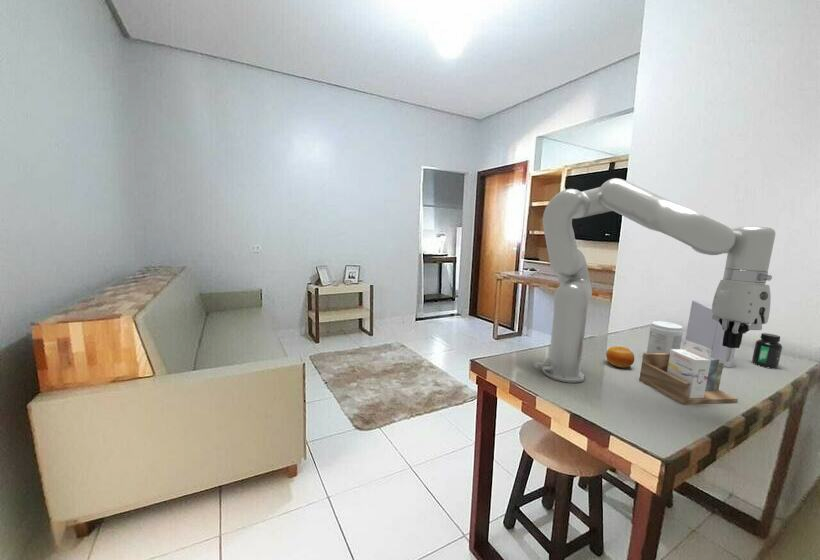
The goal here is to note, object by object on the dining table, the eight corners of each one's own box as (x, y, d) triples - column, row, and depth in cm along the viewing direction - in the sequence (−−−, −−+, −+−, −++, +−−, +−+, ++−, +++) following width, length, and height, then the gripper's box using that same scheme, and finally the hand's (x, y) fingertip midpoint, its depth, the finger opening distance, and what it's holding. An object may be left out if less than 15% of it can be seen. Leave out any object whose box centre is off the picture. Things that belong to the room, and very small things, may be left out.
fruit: (611, 349, 125) (617, 336, 119) (634, 363, 119) (642, 351, 114) (598, 361, 122) (604, 349, 116) (622, 377, 116) (629, 365, 111)
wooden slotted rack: (682, 404, 92) (688, 366, 90) (639, 379, 107) (644, 347, 105) (737, 402, 94) (745, 366, 92) (688, 379, 109) (693, 347, 107)
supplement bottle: (763, 368, 121) (770, 337, 119) (746, 361, 128) (752, 331, 126) (783, 369, 121) (790, 338, 119) (765, 362, 127) (771, 332, 126)
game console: (711, 365, 122) (721, 313, 119) (683, 343, 147) (691, 300, 144) (731, 368, 120) (742, 315, 117) (700, 345, 145) (708, 301, 142)
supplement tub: (669, 358, 127) (675, 322, 125) (682, 368, 118) (689, 329, 116) (641, 355, 129) (646, 319, 127) (651, 364, 120) (658, 326, 118)
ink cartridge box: (663, 384, 101) (671, 339, 99) (678, 384, 102) (686, 339, 99) (689, 398, 93) (698, 349, 90) (704, 398, 93) (714, 349, 91)
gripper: (795, 281, 75) (778, 358, 77) (725, 273, 89) (713, 337, 92) (767, 281, 74) (751, 358, 76) (701, 272, 88) (690, 337, 91)
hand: (730, 346), depth 84 cm, fingers closed
